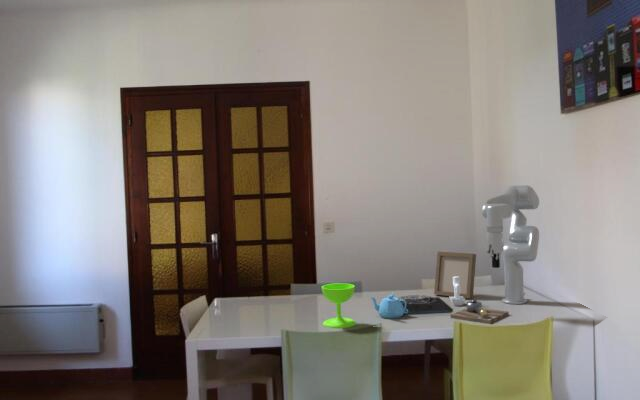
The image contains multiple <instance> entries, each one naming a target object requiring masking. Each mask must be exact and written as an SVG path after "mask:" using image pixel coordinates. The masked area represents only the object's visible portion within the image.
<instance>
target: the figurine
mask: <svg viewBox="0 0 640 400" xmlns="http://www.w3.org/2000/svg"><path fill="white" fill-rule="evenodd" d="M459 282H460V280H459V276H458V277H456V276H454V277H453V286H454V296H448V297H449V300H450V301H451V304H452V305H453V306H455V307H456V306H457V307H458V306H459V307H460V306H463V305H464V303H465V300H466V298H464V297H463V296H460V294H461V287H460V285H459V284H460V283H459Z"/></svg>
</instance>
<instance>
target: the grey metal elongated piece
mask: <svg viewBox="0 0 640 400" xmlns="http://www.w3.org/2000/svg"><path fill="white" fill-rule="evenodd" d="M482 304H483V303H482V302H481V301H477V299H471V300H470V301H467V302H466V308H467V311H468V312H478V313H479V314H480V315H481V316H486V315H487V311H486V310H484V309H482V308H483V306H482Z"/></svg>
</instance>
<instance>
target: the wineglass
mask: <svg viewBox="0 0 640 400" xmlns="http://www.w3.org/2000/svg"><path fill="white" fill-rule="evenodd" d="M355 287H356V285H354V284H351V283H345V282H344V283H343V282H342V283H341V282H340V283H339V282H338V283H328V284H324V285H322V286H321V293H322V294H323V296H324V297H325V298H326V300H327V301H329V302H331V303H334V304H336V317H333V318H328V319H326V320H324V321H323V322H322V326H323V327H326V328H329V329H345V328H346V329H347V328H351V327H353V326H356V325H357V321H355V320H354V319H353V318H347V317H342V305H341V304H343V303H345V302H348V301H349V300H350V299H352V296H353V295H354V292H355Z"/></svg>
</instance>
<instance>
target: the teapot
mask: <svg viewBox="0 0 640 400" xmlns="http://www.w3.org/2000/svg"><path fill="white" fill-rule="evenodd" d="M394 295H395V294H394V292H393V291H392V292H391V293H390V294H389V295H387V297H384V298H383V299H381V302H380V303H379V304H377V299H376V298H375V297H373V296H369V298H371V300H372V301H373V306H374V310H376V312H377V313H378V315H379V316H380V317H381V318H384V319H385V318H386V319H397V318H398V319H399V318H402V316H403V315H404V314H408V313H409V310H408V308H407V301H406V300H405V299H402V298H401V299H399V298H398V297H394ZM402 302H403V303H404V305H403V303H402Z"/></svg>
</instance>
